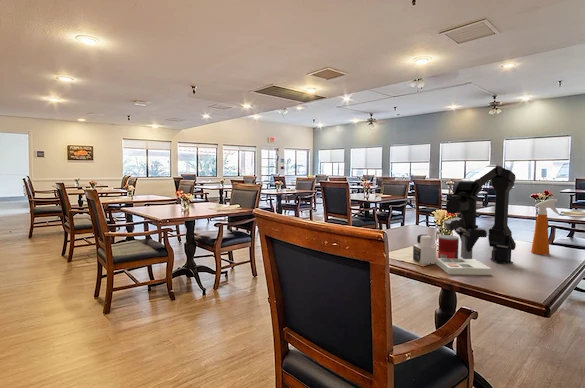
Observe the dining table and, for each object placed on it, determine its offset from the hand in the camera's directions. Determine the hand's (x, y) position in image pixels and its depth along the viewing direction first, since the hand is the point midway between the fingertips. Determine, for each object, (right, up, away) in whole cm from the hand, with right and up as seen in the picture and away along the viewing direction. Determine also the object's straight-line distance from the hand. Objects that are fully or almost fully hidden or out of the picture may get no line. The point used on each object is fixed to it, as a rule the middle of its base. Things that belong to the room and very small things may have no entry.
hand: (466, 250), depth 134 cm
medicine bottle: (-11, -8, +15) cm, 20 cm away
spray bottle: (+52, -6, +28) cm, 59 cm away
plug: (0, -3, 0) cm, 3 cm away
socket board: (0, -8, +4) cm, 9 cm away
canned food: (0, -8, +16) cm, 18 cm away
